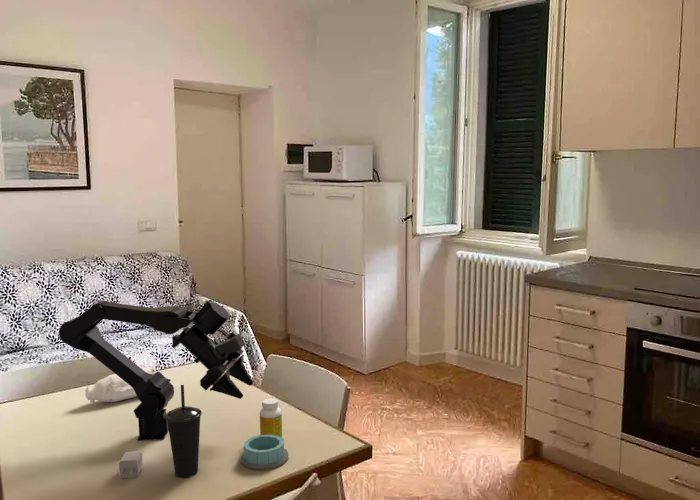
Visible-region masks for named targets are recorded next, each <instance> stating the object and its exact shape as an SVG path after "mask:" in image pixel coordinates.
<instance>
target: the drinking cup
mask: <svg viewBox="0 0 700 500" xmlns="http://www.w3.org/2000/svg"><path fill="white" fill-rule="evenodd" d="M180 396H181V397H180V399H181V400H180V403H181V406H178V407H175V408H173V409H171V410H169V411H168V412H166V415H165V418H166V420H167V423H168V429H169V431H168V435H169V443H170V446H171V447H170V448H171V454H172V455H171V456H172V461H173V467H174V469H173V470H174V474H175V477H177V478H180V479H186V478H191V477H194V476H195V475H197V474H198V472H199V455H200V452H199V450H200V435H201V434H200V431H201V429H200V428H201V416H202V413H203V412H202V410H201V409H200V408H199V407H193V406H187V405H186V404H185V402H186V401H185V385H184V384H181V385H180Z"/></svg>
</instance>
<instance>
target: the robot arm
mask: <svg viewBox="0 0 700 500" xmlns="http://www.w3.org/2000/svg"><path fill="white" fill-rule="evenodd" d="M230 317H231V316H230V314H229V311H227V310H226V308H225V307H224V306H221V305H220V304H219V303H216V302H213V300H211V299H208V300H207V301H206V302H205V303H204V304H203V306H202V307H201V308H200V309H199V310H198V311H192V310H186V309H185V308H184V307H182V306H180V305H179V306H178V305H173V306H172V305H171V306H170V305H169V306H160V307H148V306H140V305H132V304H124V303H118V302H112V301H111V302H110V301H108V300H100V301H99V302H96V303H94V304H92V305H91V306H90V307H89V308H88V309H87V310H85V311H84V312H82V313H81V314H80V315H78V316H76V317H75V318H72V319H70V320H67V321H65V322H63V323H62V324H61V325H60V326H59V327H60V328H59V330H58V334H59V339H60V340H61V341H62V343H64V344H66V345H67V346H69V347H71V348H73V349H75V350H77V351H78V350H79V351H82V352H85V353H89V354H90V355H91V356H92V357H93V358H94V359H96V360H97V361H99V362H100V363H101V364H102V365H103V366H105V367H106V368H107V369H108V370H110V371H111V372H113V373H114V374H116V375H117V376H119V377H120V378H121V379H122V380H124V381H125V382H126V383H128V384H129V385H130V386H131V387H132V388H133V389H134V391H135V393H136V395H137V399H138V400H139V402H140V404H138V405H137V406H136V407H135V408H134V410H133V414H134V415H135V418H136V419H138V421H137V423H138V437H137V438H136V439H137V441H142V442H143V441H157V440H158V441H160V440H161V441H162V440H165V438H166V437H167V434H169V429H168V423H167V420H166V418H165V415H166V414H167V409H166V407H168V404H169V402H170V401H171V400H172V399H173V398H174V395H175V387H174V385H173V384H172V383H171V381H172V380H171V379H169V378H167V377H165V376H164V374H163V373H162V372H160V371H158V370H157V371H156V372H154V373H155V374H154V375H152V374H149V373H146V372H145V371H144V370H142V368H141V367H140V366H139V365H137V364H136V363H135V362H133V360H131V359H130V358H129V357H127V356H126V355H125V354H124V353H122V352H121V351H120V350H119V349H117V348H116V347H115V346H114V345H112V344H111V343H110V342H108V341H107V339H105V338H104V337H103V335H102V334H101V331H100V329H99V327H98V326H97V325H98V324H99V323H101V322H102V321H103V320H107V321H114V322H115V321H116V322H120V323H121V322H122V323H127V324H128V323H130V324H136V325H144V326H147V327H150V328H151V329H153V330H154V331H157V332H160V333H164V334H167V335H173V336H172V337H171V338H172V344H171V347H172V348H173V349H175V348H176V347H178V346H179V345H180V344H181V345H182V346H183V347H184V348H185V349H186V350H187V351H188V352H189V353H190V354H191V355H192V356H193V357H194V358H195V359H194V360H193V361H194V362H195V363H196V364H198V363H199V362H200V363H201V365H203V367H205V368H206V369H207V370H206V372H205V373H206V374H204V375H203V377H202V378H201V379H200V380H199V383H200V384H199V385H200V387H201V388H203V390H204V391H207V390H209V391H210V392H212V391H214V392H216V393H220V394H224V395H227V396H231V397H233V398H235V399H239V400H241V399H243V397H244V394H243V392H242V391H241V390H240V389H239V387H238V386H237V385H236V383H235V382H234V381H233V379H231V377H233V378H234V379H236V380H238V381H240V382H242V383H244V384H246V385H248V386H250V387H251V386H252V385H253V384H254V381H253V379H252V377H251V376H250V373H248V371H247V369H246V366H245V365H244V356H245V355H244V350H243V347H244V346H245V345H246V344H245V343H244V336H243V335H241V333H238V332H237V331H236V330H233V331H231V332H230V333H228V335H227V338H226V339H224V340H223V341H219V340H218V339H214V340H213V339H211V337H209V335H215V334H216V332H218V331H219V330H220V329H221V327H222V326H224V324H225V323H226V322H227V321H228V320H229V319H230ZM193 323H194V324H193ZM192 324H193V325H192ZM190 325H192V326H191V327H189V326H190ZM181 329H183V330H182V331H181V332H180V333H179V334H176V333H177V332H179V331H180V330H181ZM230 376H231V377H230Z"/></svg>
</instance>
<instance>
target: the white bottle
mask: <svg viewBox="0 0 700 500" xmlns="http://www.w3.org/2000/svg"><path fill="white" fill-rule="evenodd" d="M141 369H142V370H144V371H145V372H146V373H149V374H152V375H154V374H155V373H156V372H154V370H153V369H152V367H151V366H147V367H143V368H141ZM84 391H85V395H84V396H85V397H86V399H87V401H89V402H90V404H92V403H94V402H95V401H99V402H100V403H116V402H117V403H118V402H120V401H124V400H125V401H126V400H129V399H133V398H136V397H137V395H136V393H135V391H134V389H133V388H132V387H131V386H130V385H129V384H128V383H126V382H125V381H124V380H122V379H121V378H120V377H119V376H117V375H116V374H115V373H114V374H110V375H107V376H105V377H103V378H100V379H99V380H97V382H95V384H94V385H92V386H87V387H86V389H85V390H84ZM137 398H138V397H137Z"/></svg>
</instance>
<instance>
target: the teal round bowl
mask: <svg viewBox="0 0 700 500" xmlns="http://www.w3.org/2000/svg"><path fill="white" fill-rule="evenodd" d="M239 458H240V459H239V461H240V465H241V466H243V467H244V468H246V469H249V470H253V471H267V470H273V469H277V468H280V467H281V466H283V465H285V464H286V463H287V462H288V461H289V451H288V450H287V449H286V448H285V440H284V439H283V437H282V438H280V437H279V436H274V435H256V436H252V437H249V438H248V439H247V440H245V441H244V444H243V452H242V453H241V455H240V457H239Z"/></svg>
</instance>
